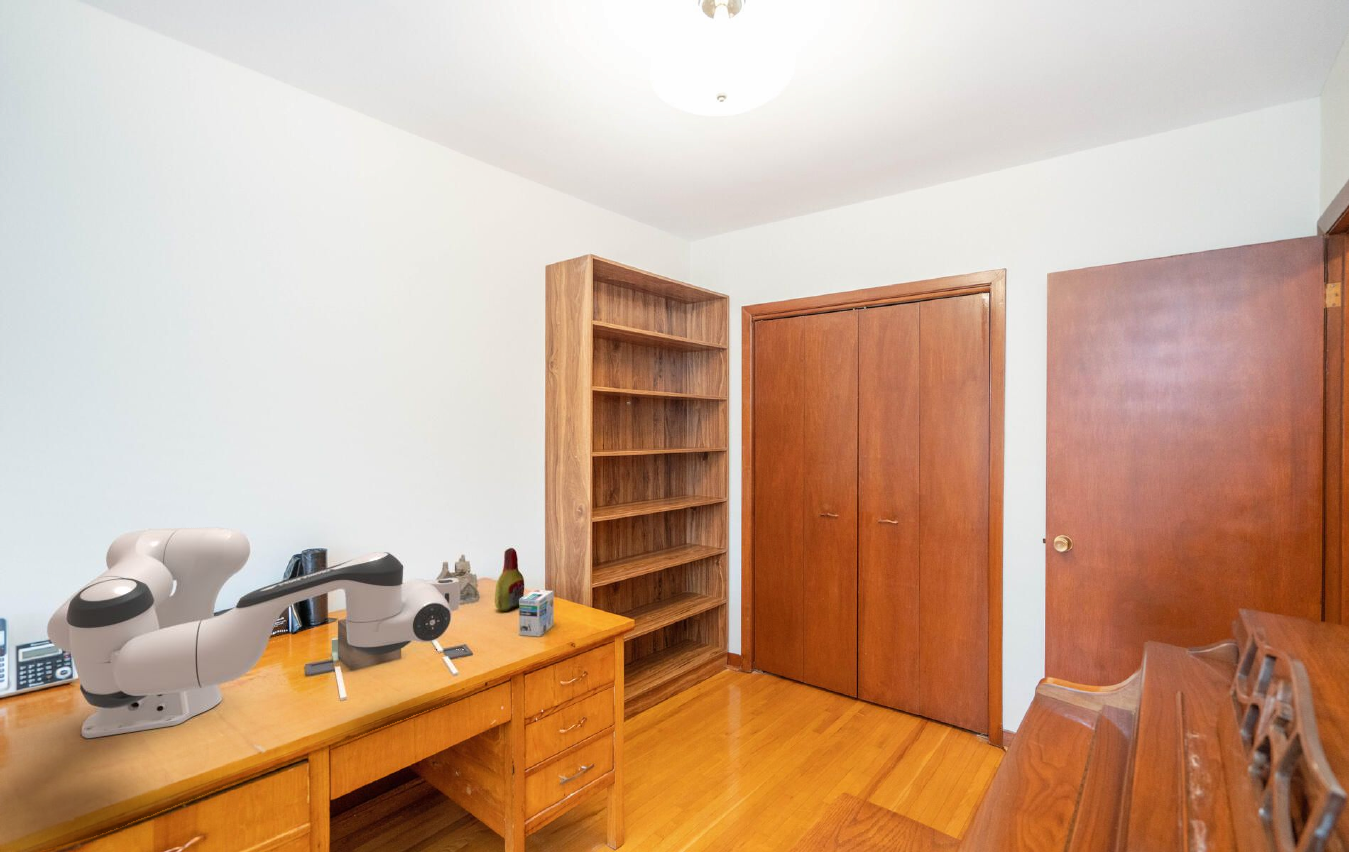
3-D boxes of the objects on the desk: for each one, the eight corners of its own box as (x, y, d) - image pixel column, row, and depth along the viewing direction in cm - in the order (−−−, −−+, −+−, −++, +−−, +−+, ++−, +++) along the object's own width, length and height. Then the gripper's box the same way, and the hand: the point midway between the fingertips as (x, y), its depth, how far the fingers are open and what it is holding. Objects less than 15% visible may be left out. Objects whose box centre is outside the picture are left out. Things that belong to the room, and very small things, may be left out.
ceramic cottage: (430, 594, 215) (432, 553, 214) (478, 592, 220) (480, 552, 220) (429, 610, 200) (431, 566, 199) (480, 607, 206) (482, 564, 205)
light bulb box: (539, 637, 173) (539, 600, 173) (518, 635, 174) (518, 598, 174) (554, 625, 183) (554, 590, 183) (534, 623, 184) (534, 588, 184)
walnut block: (350, 671, 149) (350, 632, 149) (337, 658, 158) (337, 620, 157) (401, 659, 157) (401, 621, 157) (386, 646, 166) (386, 610, 166)
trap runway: (307, 707, 130) (307, 689, 130) (304, 658, 157) (304, 643, 157) (483, 668, 150) (483, 653, 150) (454, 631, 177) (454, 617, 177)
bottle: (516, 602, 206) (516, 544, 206) (530, 605, 203) (530, 546, 203) (490, 611, 196) (490, 550, 196) (504, 614, 193) (504, 553, 193)
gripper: (360, 625, 119) (354, 607, 131) (465, 608, 131) (451, 593, 142) (360, 593, 119) (354, 578, 131) (466, 579, 130) (451, 566, 142)
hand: (405, 586), depth 137 cm, fingers closed
